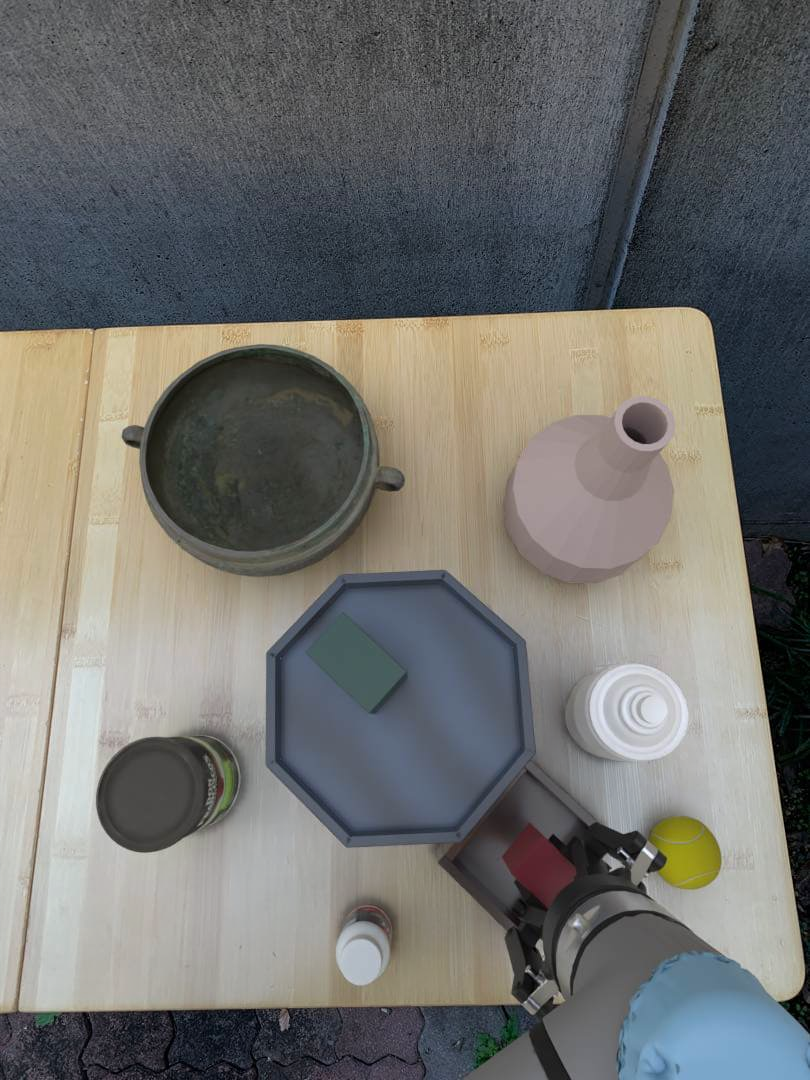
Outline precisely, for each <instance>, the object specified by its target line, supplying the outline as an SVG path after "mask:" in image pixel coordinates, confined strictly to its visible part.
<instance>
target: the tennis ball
mask: <svg viewBox="0 0 810 1080" xmlns="http://www.w3.org/2000/svg"><path fill="white" fill-rule="evenodd" d="M648 841H649V842H651V843H652V844H653V845H654V846H655V847H656V848H657V849H658V850H659V851H661V852H662V853H663V854H664V855H665V856H666V857H667V861H666V864H665V866H664V867H663V868H662V869H660V870H659V871H656V872H657V874H658V875H659V876H660V877H661V878H662V879H663V880H664V881H665V882H666V883H667V884H668V885H670V886H671V887H674V888H677V889H681V890H688V891H692V890H693V891H694V890H699V889H702V888H705V887H706V886H709V885H710V884H711V883H713V882H714V881H715V880H716V878H718V876H719V875H720V871H721V870H722V863H723V861H722V852H721V848H720V845H719V842H718V841H717V838H716V836H715V835H714V833H713V832H712V830H710V828H709V827H707V826H706V825H705V824H704V823H703V822H701V821H700V820H699V819H696V818H694V817H689V816H684V815H683V816H682V815H681V816H680V815H678V816H677V815H676V816H671V817H668V818H666V819H663V820H661V821H660V822H659V823H658V824H657V825H656V826H655V827H654V828H653V829H652V830H651V833H650V835H649V840H648Z"/></svg>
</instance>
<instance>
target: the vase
mask: <svg viewBox="0 0 810 1080" xmlns="http://www.w3.org/2000/svg"><path fill="white" fill-rule="evenodd" d="M675 430H676V421H675V417H674V414H673V412H672V411H671V409H670V408H669V406H668V405H667V404H665V403H664V402H663V401H662V400H660V399H658V398H655V397H652V396H650V395H635V396H633V397H629V398H627V399H626V400H624V401H623V402H622V403H621V404H620V405H619V407H618V408H617V409H616V411H615V412H614V414H613V415H612V416H611V417H610V416H606V415H604V414H602V415H601V414H575V415H572V416H569V417H565V418H562V419H559V420H556V421H553V422H550V423H549V424H548V425H547V426H545V427H544V428H543V429H542V430H540V431H538V433H536V435H534V436H533V437H532V438H530V439H529V441H528V443H527V444H526V446H525V448H524V450H523V451H522V453H521V454H520V456H519V458H518V460H517V461H516V463H515V465H514V467H513V468H512V471H511V473H510V475H509V476H508V478H507V480H506V484H505V491H504V495H503V502H502V509H503V516H504V521H505V526H506V531H507V533H508V535H509V536H510V538H511V540H512V542H513V543H514V545H515V547H516V548H517V550H518V553H520V555H521V556H522V557H523V558H524V559H525V560H526V561H528V562H529V563H530V564H531V565H533V566H534V567H535V568H536V569H537V570H538V571H540V572H541V573H543V574H545V575H546V576H549V577H552V578H554V579H557V580H560V581H563V582H565V583H567V584H568V583H569V584H598V583H600V582H603V581H607V580H610V579H613V578H615V577H618V576H621V575H622V574H624V573H625V572H626V571H627V570H628V569H630V568H631V567H632V566H633V565H635V564H636V563H637V562H638V561H639V560H640V559H641V558H643V556H645V555H646V554H647V553H648V552H649V551H650V550H652V549H653V548H654V547H655V546H656V545H657V544H658V543H659V542H660V540H661V538H662V536H663V534H664V533H665V531H666V529H667V527H668V525H669V523H670V521H671V519H672V513H673V505H674V497H675V496H674V495H675V490H674V485H673V481H672V477H671V473H670V470H669V465H668V463H667V462H666V460H665V459H664V458H663V456H662V454H661V452H662V451H663V450H664V449H665V448H666V446H668V445H669V444H670V442H671V440H672V438H673V437H674V435H675V432H676V431H675Z"/></svg>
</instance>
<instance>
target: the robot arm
mask: <svg viewBox="0 0 810 1080" xmlns="http://www.w3.org/2000/svg"><path fill="white" fill-rule="evenodd" d="M587 834H588V835H589V836H590V837H589V838H588V839H587V840H585V841H582V840H581V839H579V838H578V837H577V836H574V837H573V838H572V839H571V840H570V842H569V843H568V844H567V845H565V844H564V843H563V842H562V841H561V840H560V839H558V838H557V837H556V836H555V835H554V834H552V835H551V837H550V838H549V839H548V840H549V841H550V842H551V843H552V844H553V845H554V846H555V847H556V848H557V849H558V850H559V851H560V853H561V854H562V855H563V856H564V857H565V858H566V859H567V860H569V861H570V862H571V863H572V864H573V865H574V866H575V869H576V873H577V875H576V876H575V877H574V881H573V882H571V883H569V884H568V885H567V886H565V887H564V888H563V889H562V890H561V891H560V892H559V893H558V894H557V895H556V897H555V898H554V900H553V901H552V903H551V905H550V907H549V909H548V908H546V907H545V906H544V905H543V904H542V903H541V902H540V901H539V900H538V899H537V898H536V897H535V896H534V895H533V894H532V893H531V892H530V891H528V890H527V889H526V888H525V887H524V886H523V885H522V884H521V883H520V882H519V881H518V880H517V879H516V880H515V881H514V883H515V885H516V887H517V888H518V890H519V892H520V894H521V895H522V897H523V899H524V900H523V899H522V898H521V897H520V898H518V899H517V900H516V901H515V902H514V904H513V905H512V907H511V911H512V912H513V913H514V914H515V915H516V916H517V917H518V918H519V919H520V920H522V921H521V923H520V925H519V927H518V929H517V928H516V927H515V926H512V927H511V928H509V929H508V930H507V931H505V934H504V937H503V938H504V943H505V946H506V950H507V954H508V957H509V961H510V964H511V967H512V972H513V980H512V985H511V991H510V994H511V996H513V998H514V999H515V1000H516V1001H517V1002H518V1003H520V1005H521V1006H522V1007H523V1008H524V1009H525V1010H526V1011H527V1012H528V1013H529V1014H530V1015H531V1016H532V1017H533V1018H534V1019H535V1020H536V1022H538V1023H537V1024H535V1025H534V1026H533V1027H531V1028H530V1029H528V1030H527V1031H525V1032H524V1033H523V1034H521V1035H520V1036H518V1037H517V1038H515V1039H514V1040H513V1041H512V1042H510V1043H509V1044H508V1045H507V1046H505V1047H504V1048H502V1049H501V1050H500V1051H498V1052H497V1053H496V1054H494V1055H493V1056H491V1057H490V1058H489V1059H487V1060H486V1061H485V1062H484V1063H482V1064H481V1065H479V1066H478V1067H477V1068H475V1069H474V1070H473V1071H471V1072H470V1073H468V1074H467V1075H466V1076H465V1077H463V1078H462V1079H461V1080H810V1033H809V1032H808V1031H807V1030H806V1029H805V1028H804V1027H803V1026H802V1024H800V1022H799V1021H798V1020H797V1019H796V1018H795V1017H794V1016H793V1015H791V1014H790V1012H788V1011H787V1010H786V1009H785V1008H784V1007H783V1006H782V1005H781V1004H780V1003H779V1002H778V1001H777V1000H776V999H775V998H774V997H773V996H772V995H771V994H770V993H768V991H767V990H766V989H765V987H764V986H763V984H762V983H761V981H760V980H759V979H758V978H757V977H756V975H754V974H753V973H752V972H751V971H750V970H749V969H746V968H742V966H741V964H740V963H739V962H737V961H735V960H734V959H732V958H728V957H727V956H726V955H724V954H723V953H721V952H720V951H719V950H717V949H716V948H715V947H713V946H712V945H711V944H709V943H708V942H706V940H704V939H703V938H701V937H700V936H698V935H697V934H696V933H695V932H694V931H693V930H692V929H691V928H690V927H689V926H687V925H686V924H685V923H684V922H682V921H681V920H680V919H678V918H677V917H676V916H675V915H673V914H672V913H671V912H670V911H669V910H667V909H666V908H665V907H664V906H663V905H661V904H660V903H658V902H657V901H656V900H654V899H653V898H652V897H651V896H649V894H648V891H647V887H646V884H645V883H644V882H643V879H648V878H649V877H650V875H651V873H656V872H657V871H659V870H660V869H662V868H663V867H664V866H665V864H666V861H667V857H666V856H665V855H664V854H663V853H662V852H661V851H659V850H658V849H657V848H656V847H655V846H654V845H653V844H652V843H651V842H649V840H648V838H646V837H645V836H644V835H643V834H642V833H641V832H640V831H639V830H633V831H630V832H626V833H622V832H620V831H618V830H615V829H613V828H612V827H609V826H606V825H604V824H601V822H599V823H597V822H595V823H593V824H591V825H590V826H589V828H588V831H587ZM607 854H608V855H609V856H610V857H611V858H613V859H615V860H617V861H618V862H620V863H621V864H622V866H623V867H617V868H615V869H613V867H612V866H611V865H610V864H608V863H607V862H606V861H605V860H604V859H603V858H604V857H605V856H606V855H607ZM610 870H611V871H610ZM539 941H541V942H542V949H543V950H542V951H543V955H544V960H543V956H542V954H541V952H540V950H539V949H538V948H537V946H536V945H537V944H538V942H539ZM559 993H560V994H561V996H562V998H563V1000H564V1001H562V1002H561V1004H559V1005H557V1006H556V1007H555V1008H553V1006H554V1001H555V1000H557V998H558V996H559Z"/></svg>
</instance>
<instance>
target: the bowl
mask: <svg viewBox="0 0 810 1080" xmlns="http://www.w3.org/2000/svg"><path fill="white" fill-rule="evenodd" d="M121 439H122V441H123V442H124V444H125V445H126V446H128V447H131V448H133V449H138V450H139V456H138V457H139V458H138V462H139V463H138V464H139V470H140V471H139V472H140V478H141V485H142V490H143V493H144V497H145V500H146V503H147V505H148V508H149V510H150V513H151V514H152V516H153V518H154V520H155V521H156V522H157V523H158V525H159V526H160V527H161V529H162V530H163V531H164V532H165V534H166V535H167V536H168V537H169V538H170V539H171V540H172V541H173V542H174V543H175V544H176V545H178V547H180V548H181V549H182V550H183V551H185V553H187V554H188V555H190V556H192V557H193V558H195V559H196V560H198V561H199V562H201V563H203V564H205V565H207V566H209V567H211V568H214V569H215V570H219V571H221V572H225V573H229V574H233V575H237V576H243V577H254V578H265V577H266V578H267V577H277V576H283V575H287V574H292V573H295V572H299V571H301V570H303V569H305V568H306V569H307V568H308V567H310V566H313V565H315V564H317V563H319V562H321V561H323V560H324V559H325V558H327V557H329V556H330V555H331V554H332V553H334V552H335V551H336V550H338V549H339V548H340V547H342V545H343V544H344V543H345V542H346V541H347V540H349V538H350V537H351V536H352V535H353V534H354V532H355V531H356V530H357V529H358V527H359V525H360V524H361V522H362V521H363V520H364V518H365V516H366V514H367V513H368V510H369V508H370V506H371V504H372V501H373V499H374V495H375V493H376V490H381V491H384V492H385V491H386V492H399V491H401V489H403V488H404V486H405V483H406V479H405V475H404V473H403V472H402V471H401V470H400V469H398V468H396V467H392V466H381V465H380V449H379V448H380V447H379V440H378V435H377V431H376V428H375V424H374V422H373V419H372V415H371V413H370V411H369V408H368V406H367V405H366V402H365V401H364V399H363V397H362V396H361V395H360V393H359V392H358V391H357V389H356V388H355V387H354V386H353V385H352V384H351V383H350V381H349V380H348V379H347V378H346V377H345V376H344V375H342V374H341V373H340V372H338V371H337V370H336V369H335V368H334V367H333V366H331V365H330V364H328V363H327V362H325V361H324V360H322V359H321V358H318V356H315V355H313V354H310V353H308V352H306V351H302V350H299V349H296V348H292V347H290V346H284V345H278V344H265V343H256V344H249V345H242V346H236V347H235V346H234V347H232V348H231V347H230V348H228V349H224V350H221V351H218V352H216V353H214V354H211V355H210V356H207V357H205V358H203V359H200V360H199V361H197V362H196V363H194V364H193V365H192V366H190V367H189V368H188V369H186V370H185V371H183V372H182V373H181V374H179V376H177V377H176V378H175V379H174V380H173V381H172V382H171V383H170V384H169V385H168V386H167V387H166V388H165V389H164V391H163V392H162V393H161V395H160V397H159V398H158V399H157V400H156V402H155V404H154V405H153V407H152V409H151V411H150V413H149V415H148V417H147V420H146V422H145V425H144V426H142V425H141V426H140V425H137V424H133V425H128V426H127V427H125V428H123V429H122V432H121Z"/></svg>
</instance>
